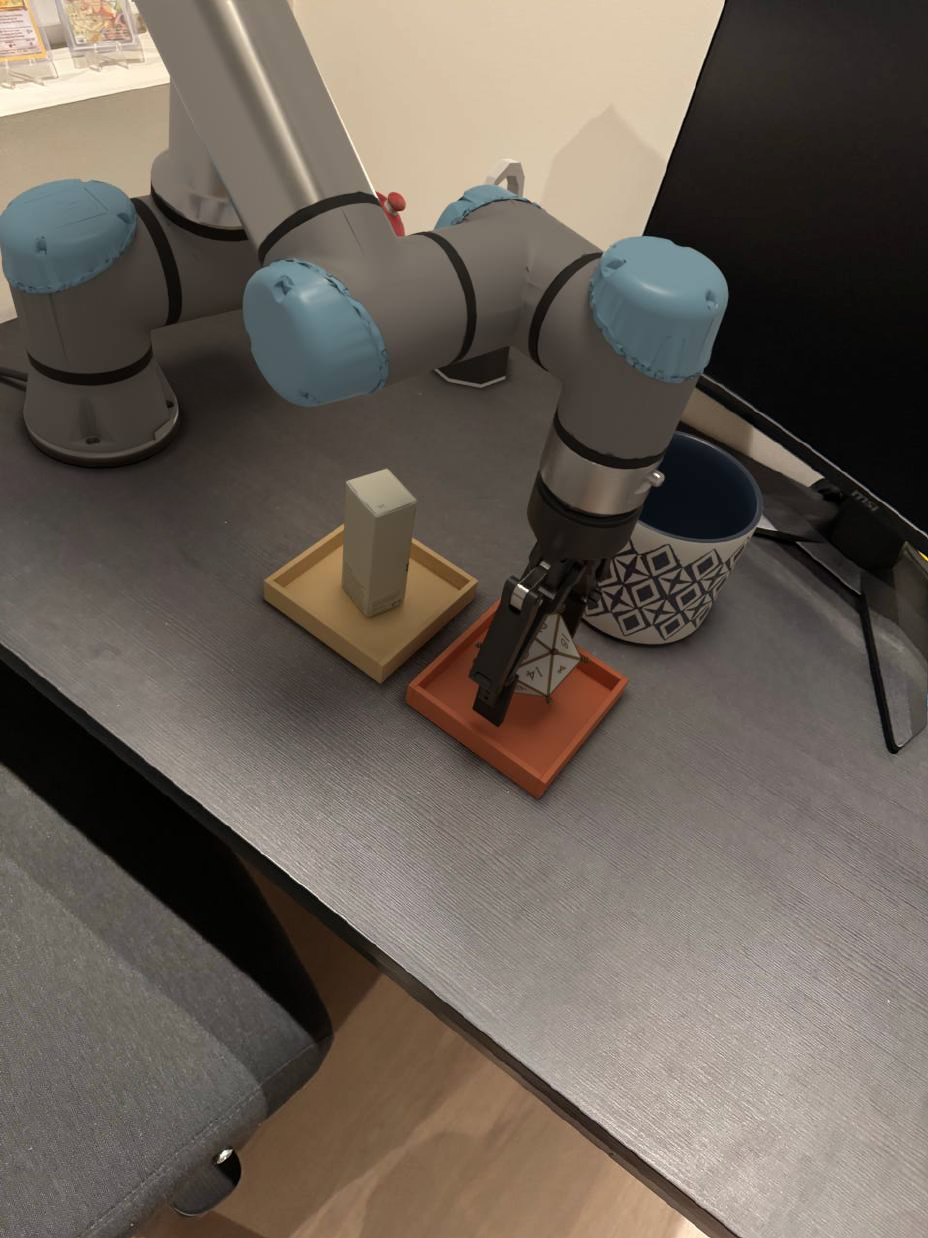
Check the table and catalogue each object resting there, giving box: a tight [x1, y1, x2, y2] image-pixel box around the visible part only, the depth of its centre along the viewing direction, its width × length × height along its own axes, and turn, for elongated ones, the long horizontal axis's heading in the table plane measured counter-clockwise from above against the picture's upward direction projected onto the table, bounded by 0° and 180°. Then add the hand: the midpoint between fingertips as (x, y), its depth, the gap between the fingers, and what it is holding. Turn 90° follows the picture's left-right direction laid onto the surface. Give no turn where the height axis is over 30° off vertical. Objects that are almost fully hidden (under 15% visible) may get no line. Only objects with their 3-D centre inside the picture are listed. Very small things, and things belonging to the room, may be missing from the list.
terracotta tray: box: [405, 597, 630, 800], centre depth 75 cm, size 14×14×3 cm
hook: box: [433, 158, 526, 389], centre depth 100 cm, size 11×11×25 cm
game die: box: [474, 604, 592, 707], centre depth 71 cm, size 9×8×10 cm
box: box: [342, 468, 418, 618], centre depth 75 cm, size 5×4×13 cm
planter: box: [581, 430, 764, 645], centre depth 82 cm, size 16×16×14 cm
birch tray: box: [263, 523, 479, 684], centre depth 80 cm, size 14×14×3 cm
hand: (522, 678), depth 73 cm, fingers closed on game die, 10 cm apart
